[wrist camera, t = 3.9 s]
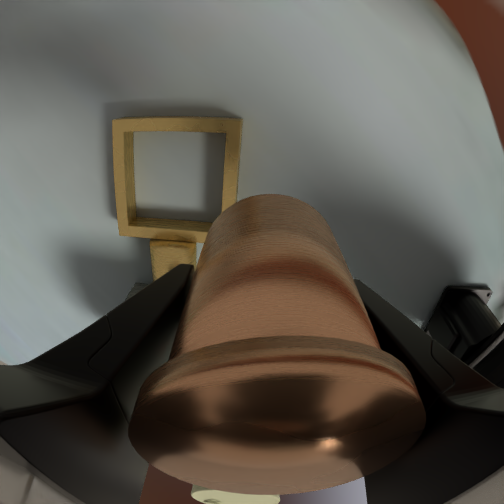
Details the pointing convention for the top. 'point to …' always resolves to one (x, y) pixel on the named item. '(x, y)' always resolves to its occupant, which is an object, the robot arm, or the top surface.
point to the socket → (125, 173)
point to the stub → (274, 365)
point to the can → (230, 497)
